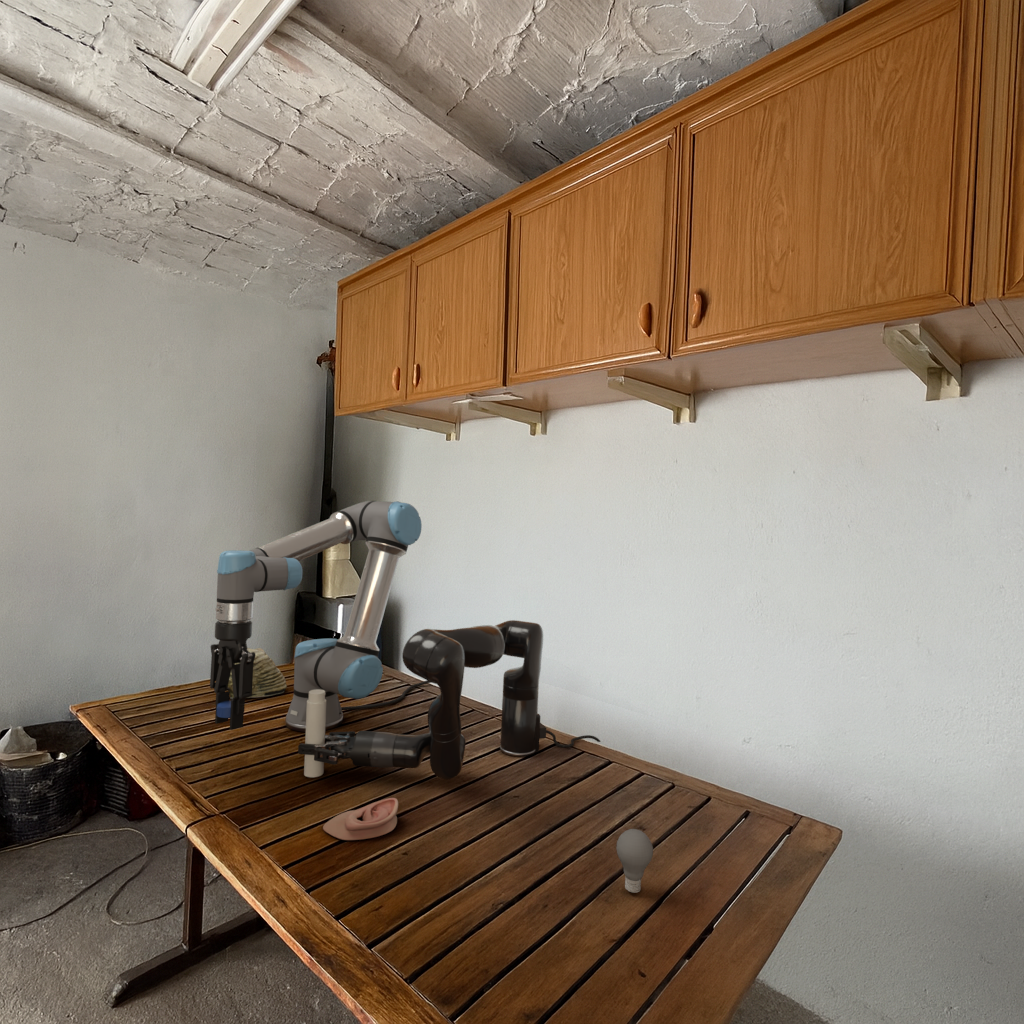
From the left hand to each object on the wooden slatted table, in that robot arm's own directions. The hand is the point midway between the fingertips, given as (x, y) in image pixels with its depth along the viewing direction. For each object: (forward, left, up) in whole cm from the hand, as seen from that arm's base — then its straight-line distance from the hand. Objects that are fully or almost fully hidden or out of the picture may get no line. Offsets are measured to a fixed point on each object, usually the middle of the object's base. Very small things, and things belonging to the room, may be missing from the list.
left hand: (228, 724), depth 141 cm
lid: (0, 0, +4) cm, 4 cm away
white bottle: (-14, +12, -12) cm, 22 cm away
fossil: (-34, -49, -12) cm, 61 cm away
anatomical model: (-7, +38, -12) cm, 41 cm away
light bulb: (-25, +87, -12) cm, 92 cm away
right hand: (-13, +9, -5) cm, 17 cm away
